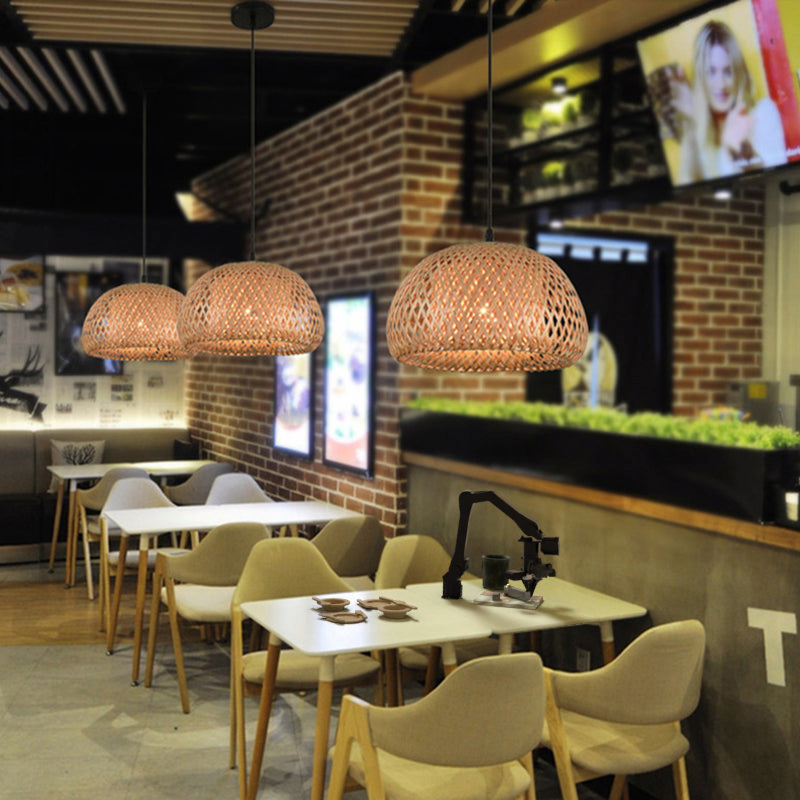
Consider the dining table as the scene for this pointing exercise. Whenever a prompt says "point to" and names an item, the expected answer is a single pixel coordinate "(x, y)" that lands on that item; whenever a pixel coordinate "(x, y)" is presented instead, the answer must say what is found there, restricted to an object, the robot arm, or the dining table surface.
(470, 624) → the dining table surface
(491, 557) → the mug
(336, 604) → the tableware set
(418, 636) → the dining table surface
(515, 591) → the bar
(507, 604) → the door mock-up board
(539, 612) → the dining table surface
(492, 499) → the robot arm
